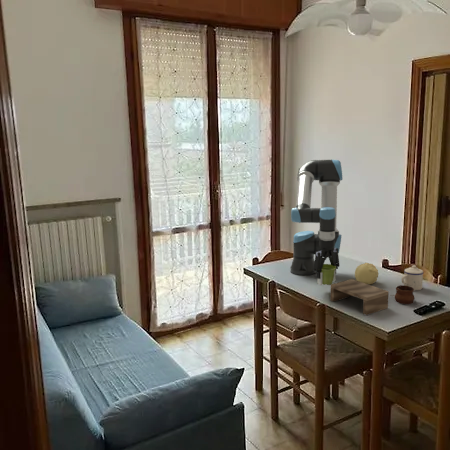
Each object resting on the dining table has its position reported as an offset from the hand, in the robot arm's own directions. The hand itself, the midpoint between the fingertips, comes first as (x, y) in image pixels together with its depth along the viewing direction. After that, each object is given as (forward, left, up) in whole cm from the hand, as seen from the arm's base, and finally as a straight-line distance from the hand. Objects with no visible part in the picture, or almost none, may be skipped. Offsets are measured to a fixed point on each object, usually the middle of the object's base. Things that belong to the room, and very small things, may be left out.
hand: (326, 282), depth 228 cm
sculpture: (+2, +27, -5) cm, 27 cm away
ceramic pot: (+31, +20, -5) cm, 37 cm away
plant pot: (0, 0, -1) cm, 1 cm away
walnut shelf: (+21, 0, -5) cm, 22 cm away
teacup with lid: (+21, +38, -5) cm, 44 cm away
